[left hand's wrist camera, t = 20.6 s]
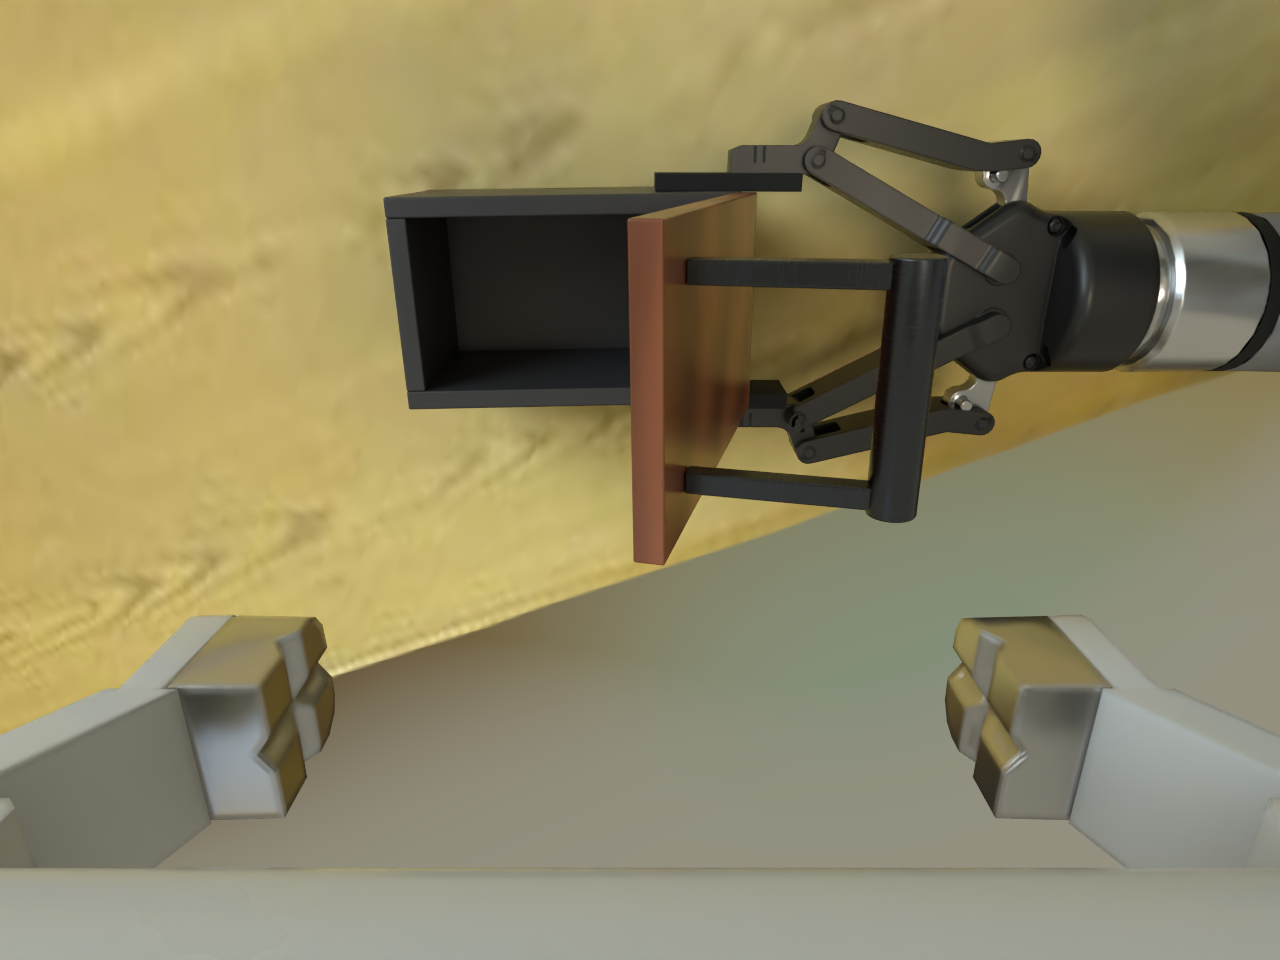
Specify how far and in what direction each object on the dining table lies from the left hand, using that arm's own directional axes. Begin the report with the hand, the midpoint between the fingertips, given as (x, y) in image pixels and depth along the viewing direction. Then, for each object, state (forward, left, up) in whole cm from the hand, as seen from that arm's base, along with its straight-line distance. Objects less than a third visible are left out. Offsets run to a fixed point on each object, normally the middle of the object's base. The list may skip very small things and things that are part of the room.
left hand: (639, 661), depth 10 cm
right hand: (0, 0, -31) cm, 31 cm away
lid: (+2, +1, -19) cm, 20 cm away
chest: (-3, -2, -37) cm, 37 cm away
